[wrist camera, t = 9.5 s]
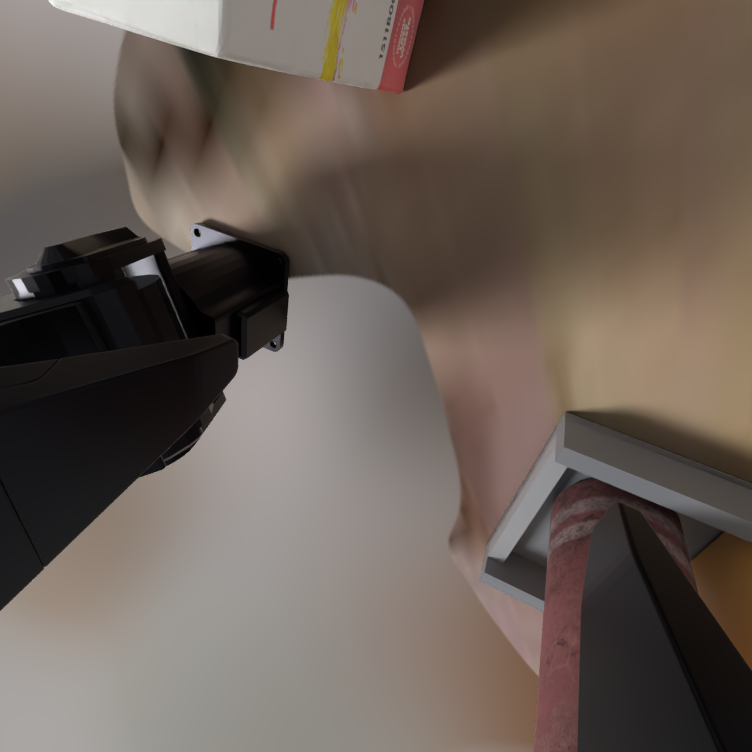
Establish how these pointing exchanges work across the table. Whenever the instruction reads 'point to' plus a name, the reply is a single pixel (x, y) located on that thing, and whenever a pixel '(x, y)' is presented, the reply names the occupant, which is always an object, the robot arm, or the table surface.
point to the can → (564, 596)
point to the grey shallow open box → (623, 470)
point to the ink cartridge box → (279, 33)
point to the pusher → (728, 588)
